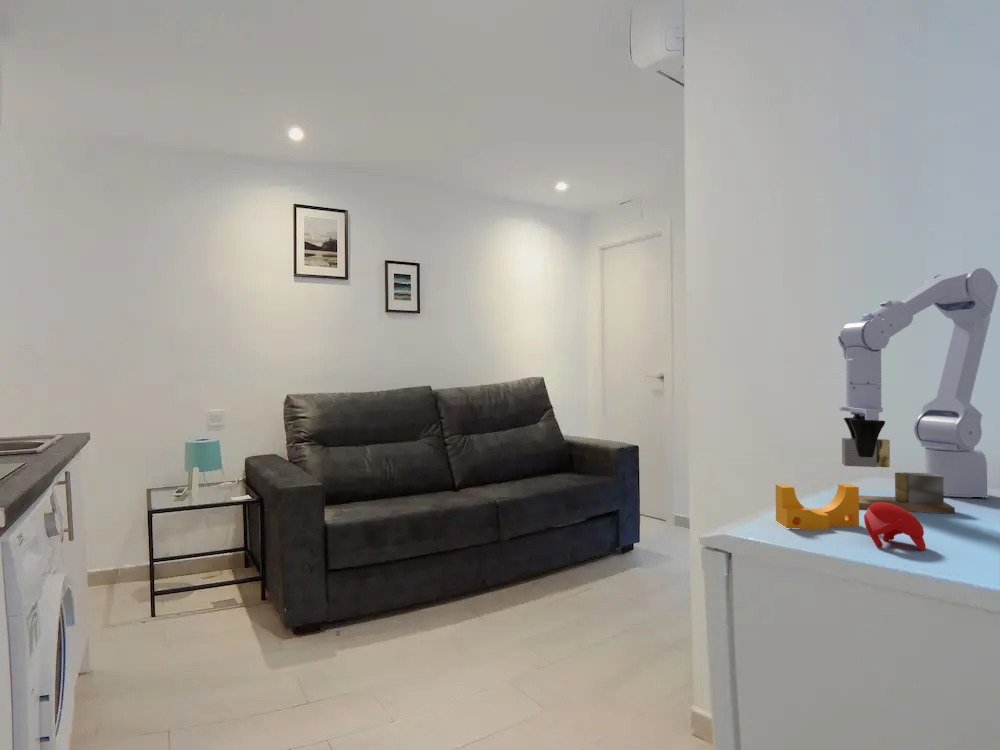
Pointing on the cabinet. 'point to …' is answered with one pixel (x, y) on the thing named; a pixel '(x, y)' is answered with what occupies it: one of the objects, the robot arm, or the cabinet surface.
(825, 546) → the cabinet surface
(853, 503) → the pipe clamp
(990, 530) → the cabinet surface
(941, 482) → the hinge jig
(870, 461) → the grey post
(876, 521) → the red animal figurine
